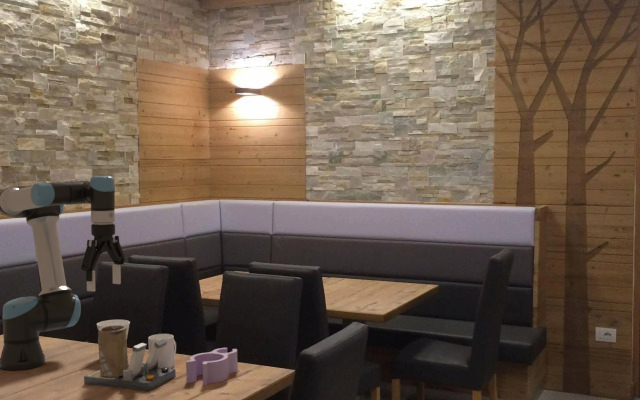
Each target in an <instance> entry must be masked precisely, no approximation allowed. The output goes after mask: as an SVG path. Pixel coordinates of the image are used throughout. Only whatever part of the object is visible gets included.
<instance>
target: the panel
mask: <svg viewBox="0 0 640 400" xmlns="http://www.w3.org/2000/svg"><path fill="white" fill-rule="evenodd" d="M158 367H159V359H158V361H157V363H156V366H155V367H153V368H151V369H149V365H148V363H145V362H143V363H142V367H141V373H140V374H139V375H137V376H135V377H133V371H130V370H123V375H121V376H114V377H105V376H102V375H101V373H100V369H98V370H96V371H94V372H92V373H89V374H86V375H85V376H83V383H84V385H86V386H87V385H88V386H97V387H107V388H109V387H110V388H117V389H128V390H135V391H136V390H138V391H143V392H144V391H146V392H149V391H152V390H153V389H155V388H157V387H159V386H161V385H162V384H164V383H167V382H168V381H170V380H172V379H174V378H176V368H171V369H169V367H163V368H158ZM128 369H129V364H128Z"/></svg>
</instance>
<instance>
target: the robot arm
mask: <svg viewBox="0 0 640 400" xmlns="http://www.w3.org/2000/svg"><path fill="white" fill-rule="evenodd" d="M115 189H116V186H115V178H114V177H113V176H111V175H94V176H91V178H90V181H89V180H80V181H62V182H61V181H60V182H58V181H57V182H52V181H51V182H47V181H45V182H36V183H33V184H32V185H21V186H20V185H14V186H9V187H5V188H3V189H2V190H0V214H2V215H3V216H6V217H8V218H14V219H23V218H25V221H26V224H27V225H29V226H30V227H31V230H32V236H33V241H34V242H33V243H34V248H35V255H36V260H37V266H38V272H39V273H38V274H39V279H40V286H41V291H40V292H39V294H38V297H37V296H31V295H28V296H21V297H17V298H15V299H14V298H13V299H11V300H9V301H7V302H6V303H5V304H3V307H2V314H1V315H2V316H1V317H2V330H3V331H2V332H3V348H2V350H1V353H0V369H1V370H5V371H23V370H29V369H33V368H37V367H40V366H43V365H44V364H45V363H46V356H45V355H46V354H45V353H44V351H43V348H42V345H41V342H40V333H43V332H49V331H54V330H55V331H56V330H64V329H66V328H71V327H74V326H75V325H76V324H77V323H78V322H79V320H80V317H81V313H82V311H81V310H82V309H81V308H82V307H81V306H82V305H81V300H80V299H79V296H78V295H77V294H74V293H73V291H72V288H70V287H69V286H68V285H67V282H66V275H65V270H64V264H63V263H64V262H63V256H62V251H61V246H60V239H59V232H58V227H57V222H59V220H60V219H61V218H60V215H62V214H63V212H64V206H66V205H67V206H69V205H85V204H86V205H89V204H90V222H91V223H92V224H91V225H90V229H91V230H90V231H91V232H90V233H91V235H92V236H93V239H87V241H86V248H85V251H84V256H83V259H82V262H81V266H80V270H81V271H84V272H85V281H86V291H87V292H96V270H95V267H96V265H97V262H98V261H99V258H100V256H101V255H102V254H103V253H105V252H107V254H108V256H109V257H110V259H111V260H112V261H113V263H114V264H112V284H113V285H114V284H115V285H121V284H122V280H121V279H122V278H121V276H122V274H121V273H122V265H124V264H125V261H126V258H125V254H124V252H123V249H122V245H121V244H120V243H121V241H120V236H119V235H116V224H115V223H114V222H116V215H115V212H116V211H115V210H116V209H115V206H116V204H115V203H116V201H115V200H116V199H115V197H116V196H115V193H116V191H115Z"/></svg>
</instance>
